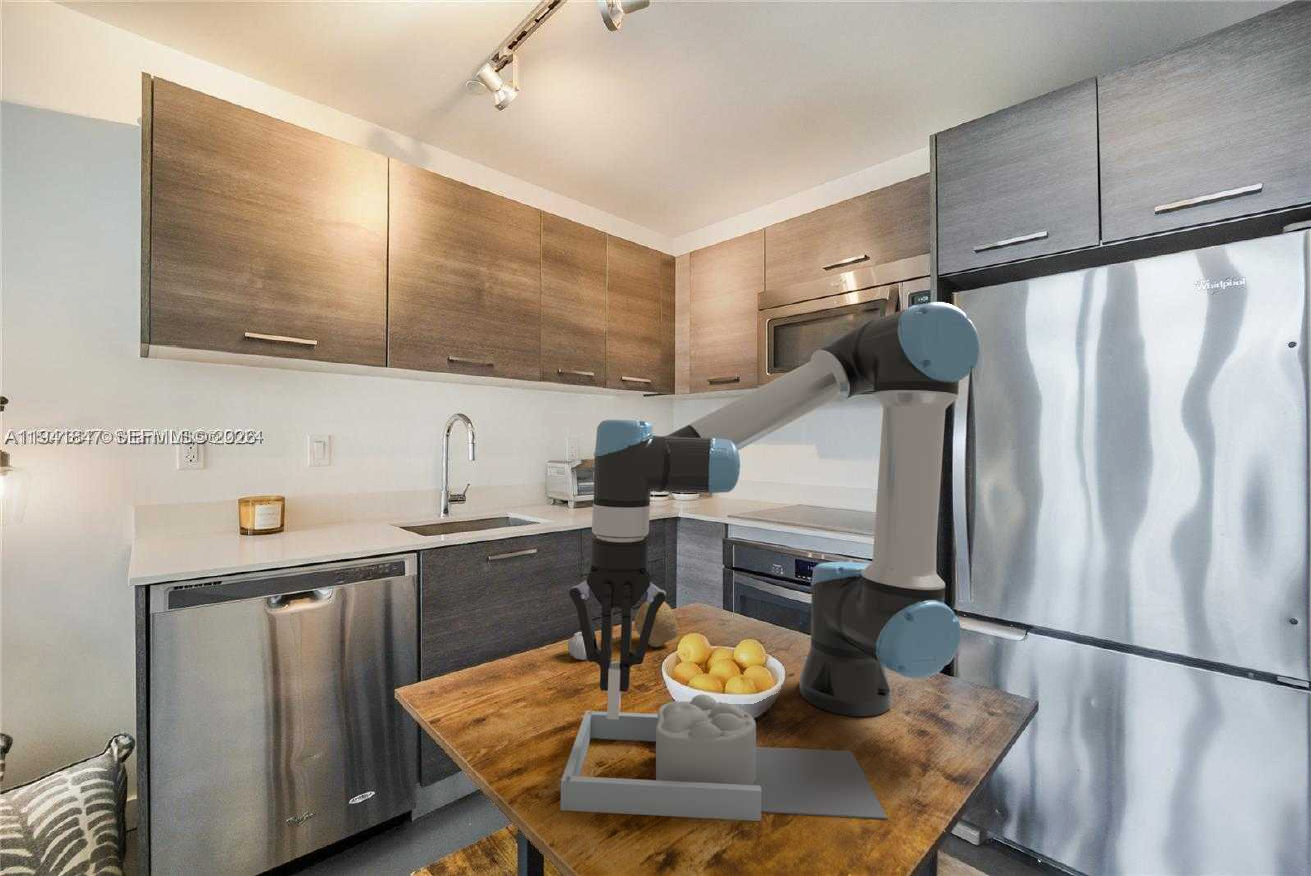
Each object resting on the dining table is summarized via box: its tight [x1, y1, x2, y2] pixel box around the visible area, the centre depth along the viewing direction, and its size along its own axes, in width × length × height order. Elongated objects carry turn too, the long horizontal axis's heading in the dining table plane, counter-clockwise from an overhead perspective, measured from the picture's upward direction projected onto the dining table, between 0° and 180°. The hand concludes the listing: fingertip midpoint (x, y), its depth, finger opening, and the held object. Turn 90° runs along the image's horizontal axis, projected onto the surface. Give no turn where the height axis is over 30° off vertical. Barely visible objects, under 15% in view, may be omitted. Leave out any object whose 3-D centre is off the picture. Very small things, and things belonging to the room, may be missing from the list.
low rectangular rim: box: [560, 710, 762, 822], centre depth 75 cm, size 24×17×4 cm
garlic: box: [567, 631, 598, 661], centre depth 113 cm, size 6×5×5 cm
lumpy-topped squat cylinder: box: [655, 693, 757, 785], centre depth 74 cm, size 10×13×9 cm
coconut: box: [634, 600, 679, 648], centre depth 120 cm, size 9×9×10 cm
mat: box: [753, 746, 888, 820], centre depth 74 cm, size 17×14×1 cm
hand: (613, 714), depth 75 cm, fingers closed
